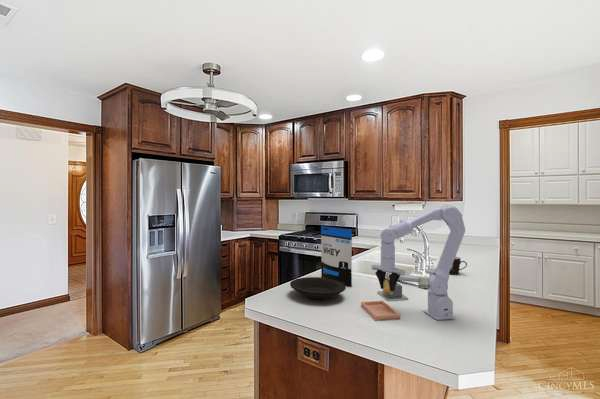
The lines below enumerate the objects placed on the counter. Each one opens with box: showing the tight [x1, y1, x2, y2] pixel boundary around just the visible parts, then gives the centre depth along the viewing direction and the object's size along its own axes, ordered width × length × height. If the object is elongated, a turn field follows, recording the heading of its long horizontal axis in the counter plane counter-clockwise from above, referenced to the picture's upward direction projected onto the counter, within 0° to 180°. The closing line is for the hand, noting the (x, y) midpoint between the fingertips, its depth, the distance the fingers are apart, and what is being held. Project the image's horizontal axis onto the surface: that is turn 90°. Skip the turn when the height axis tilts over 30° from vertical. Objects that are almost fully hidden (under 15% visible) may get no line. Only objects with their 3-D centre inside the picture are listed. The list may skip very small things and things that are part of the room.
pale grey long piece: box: [385, 272, 430, 290], centre depth 168 cm, size 5×7×25 cm
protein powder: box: [320, 225, 353, 288], centre depth 172 cm, size 10×24×30 cm, turn 37°
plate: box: [289, 276, 347, 301], centre depth 148 cm, size 28×24×6 cm
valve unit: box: [376, 282, 409, 302], centre depth 148 cm, size 12×10×6 cm
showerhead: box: [424, 266, 435, 276], centre depth 172 cm, size 9×7×10 cm
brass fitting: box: [382, 277, 393, 295], centre depth 130 cm, size 4×4×6 cm
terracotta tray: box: [360, 300, 401, 321], centre depth 128 cm, size 16×10×2 cm, turn 9°
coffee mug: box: [449, 256, 468, 276], centre depth 187 cm, size 12×9×10 cm
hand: (387, 289), depth 130 cm, fingers closed on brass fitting, 4 cm apart
